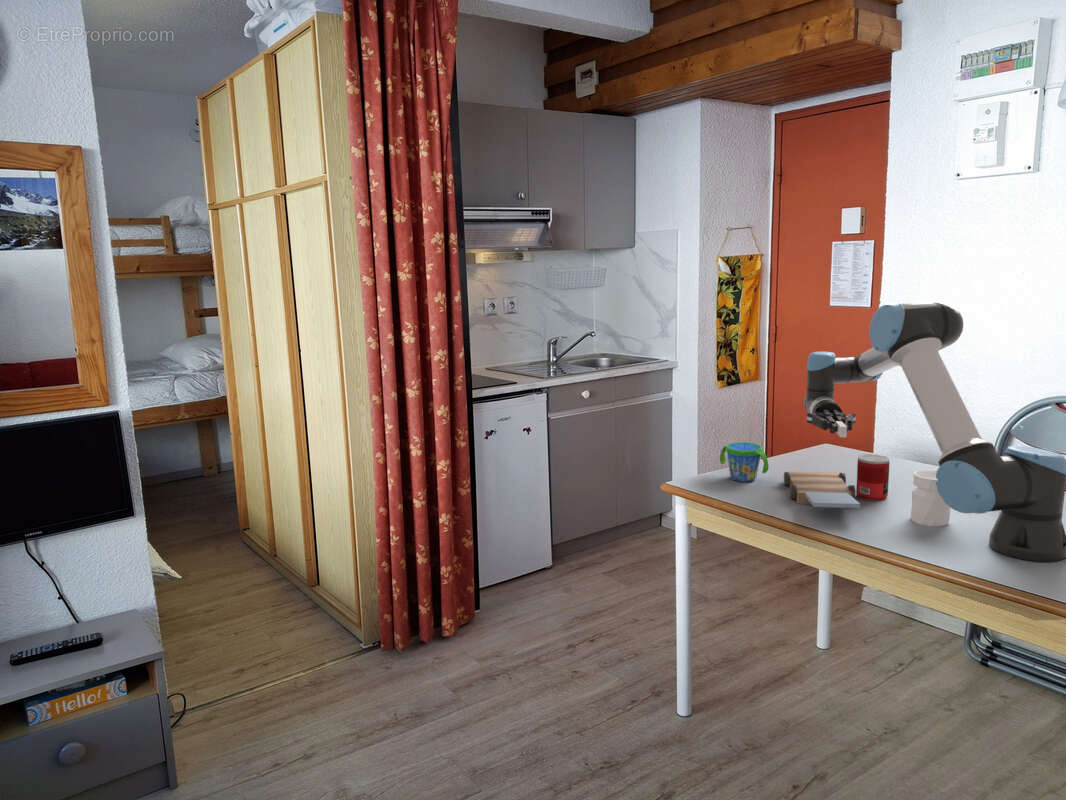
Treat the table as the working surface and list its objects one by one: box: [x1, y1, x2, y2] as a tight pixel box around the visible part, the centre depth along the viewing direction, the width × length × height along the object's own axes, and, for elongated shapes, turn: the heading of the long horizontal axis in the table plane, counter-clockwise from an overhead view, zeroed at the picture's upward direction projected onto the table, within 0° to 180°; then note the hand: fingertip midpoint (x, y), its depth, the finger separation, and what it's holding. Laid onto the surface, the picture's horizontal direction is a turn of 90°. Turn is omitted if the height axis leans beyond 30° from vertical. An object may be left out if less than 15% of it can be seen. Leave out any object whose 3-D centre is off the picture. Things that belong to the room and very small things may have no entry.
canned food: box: [855, 453, 891, 502], centre depth 216 cm, size 8×8×11 cm
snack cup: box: [719, 441, 769, 483], centre depth 235 cm, size 16×10×10 cm
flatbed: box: [783, 471, 857, 505], centre depth 221 cm, size 20×16×4 cm
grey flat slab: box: [804, 492, 861, 509], centre depth 203 cm, size 1×11×14 cm
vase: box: [910, 469, 951, 527], centre depth 196 cm, size 9×9×12 cm
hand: (843, 432), depth 199 cm, fingers closed
